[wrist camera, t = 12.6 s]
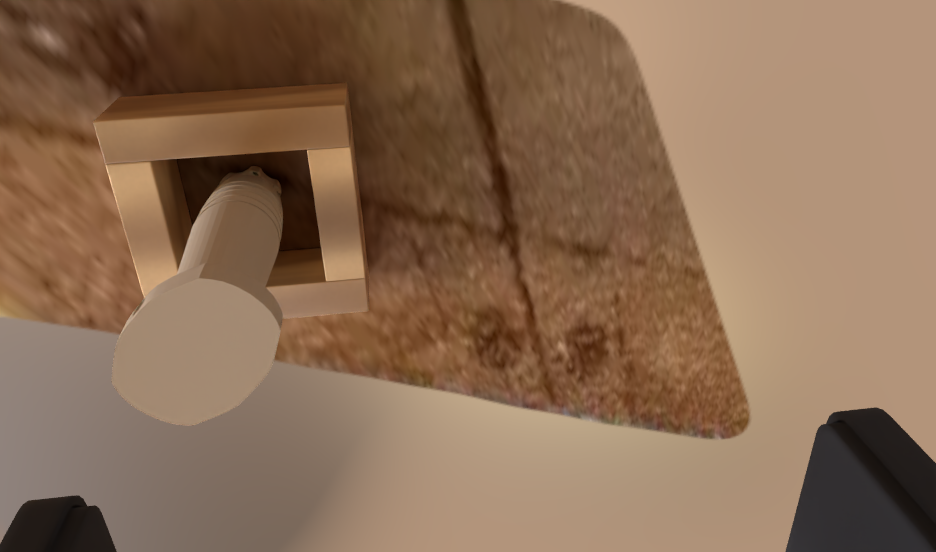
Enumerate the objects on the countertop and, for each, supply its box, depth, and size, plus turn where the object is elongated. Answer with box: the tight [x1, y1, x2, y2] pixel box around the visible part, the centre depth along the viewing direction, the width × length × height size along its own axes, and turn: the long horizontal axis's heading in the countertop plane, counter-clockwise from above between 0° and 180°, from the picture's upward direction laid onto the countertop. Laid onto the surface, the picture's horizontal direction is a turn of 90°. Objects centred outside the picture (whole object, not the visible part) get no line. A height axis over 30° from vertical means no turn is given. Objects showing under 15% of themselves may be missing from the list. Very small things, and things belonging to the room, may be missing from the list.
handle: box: [111, 166, 283, 425], centre depth 32 cm, size 5×6×15 cm
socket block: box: [93, 83, 369, 319], centre depth 37 cm, size 11×11×4 cm
